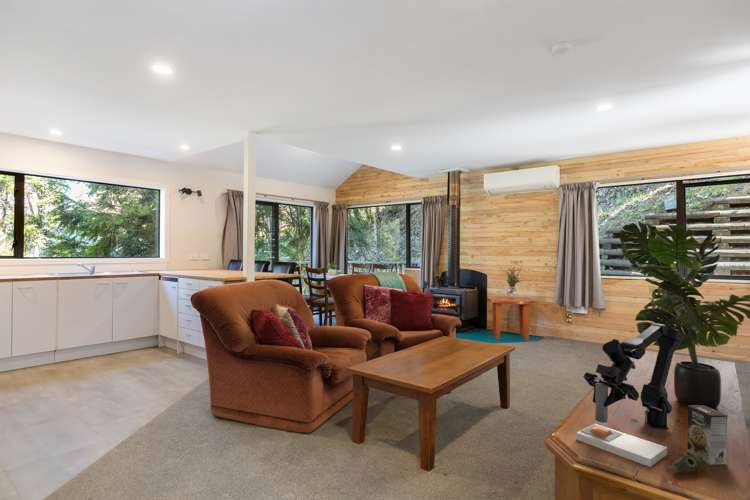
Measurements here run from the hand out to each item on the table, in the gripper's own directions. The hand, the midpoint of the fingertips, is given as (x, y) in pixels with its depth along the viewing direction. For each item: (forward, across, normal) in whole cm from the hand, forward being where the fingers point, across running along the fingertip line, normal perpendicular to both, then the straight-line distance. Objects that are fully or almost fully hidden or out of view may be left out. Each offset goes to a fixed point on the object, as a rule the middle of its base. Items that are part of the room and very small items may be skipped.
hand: (599, 404), depth 153 cm
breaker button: (+7, 0, +9) cm, 11 cm away
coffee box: (-6, +24, +25) cm, 35 cm away
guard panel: (+8, +6, +11) cm, 15 cm away
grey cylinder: (+4, 0, +6) cm, 7 cm away
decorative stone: (+5, +26, +14) cm, 30 cm away
